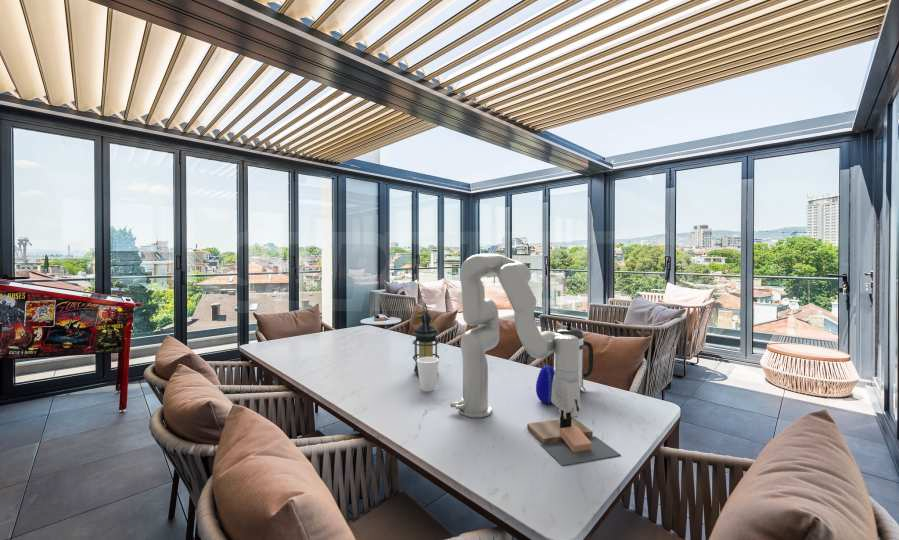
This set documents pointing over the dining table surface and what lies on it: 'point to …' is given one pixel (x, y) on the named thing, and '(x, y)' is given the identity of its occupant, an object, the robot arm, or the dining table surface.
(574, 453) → the mat
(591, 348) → the coffee press
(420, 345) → the lantern
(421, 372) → the foam cup
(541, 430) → the deck
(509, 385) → the dining table surface
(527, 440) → the dining table surface
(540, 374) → the ornament
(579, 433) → the tile
